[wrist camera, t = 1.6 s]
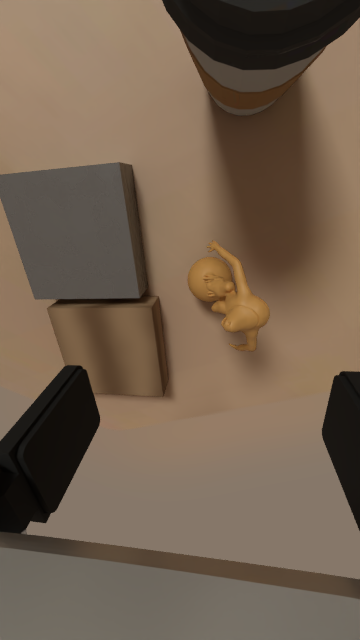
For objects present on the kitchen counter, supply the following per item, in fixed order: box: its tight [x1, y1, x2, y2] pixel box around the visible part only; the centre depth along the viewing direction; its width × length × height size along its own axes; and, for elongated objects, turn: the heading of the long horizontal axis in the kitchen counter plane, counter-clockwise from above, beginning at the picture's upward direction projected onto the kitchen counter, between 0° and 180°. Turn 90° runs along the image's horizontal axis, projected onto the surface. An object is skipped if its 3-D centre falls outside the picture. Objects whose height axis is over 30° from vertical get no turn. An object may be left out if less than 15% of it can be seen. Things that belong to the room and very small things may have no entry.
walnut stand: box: [47, 296, 168, 397], centre depth 30 cm, size 11×11×3 cm
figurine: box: [188, 241, 270, 351], centre depth 20 cm, size 8×6×12 cm
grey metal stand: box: [0, 162, 148, 299], centre depth 25 cm, size 11×11×3 cm
